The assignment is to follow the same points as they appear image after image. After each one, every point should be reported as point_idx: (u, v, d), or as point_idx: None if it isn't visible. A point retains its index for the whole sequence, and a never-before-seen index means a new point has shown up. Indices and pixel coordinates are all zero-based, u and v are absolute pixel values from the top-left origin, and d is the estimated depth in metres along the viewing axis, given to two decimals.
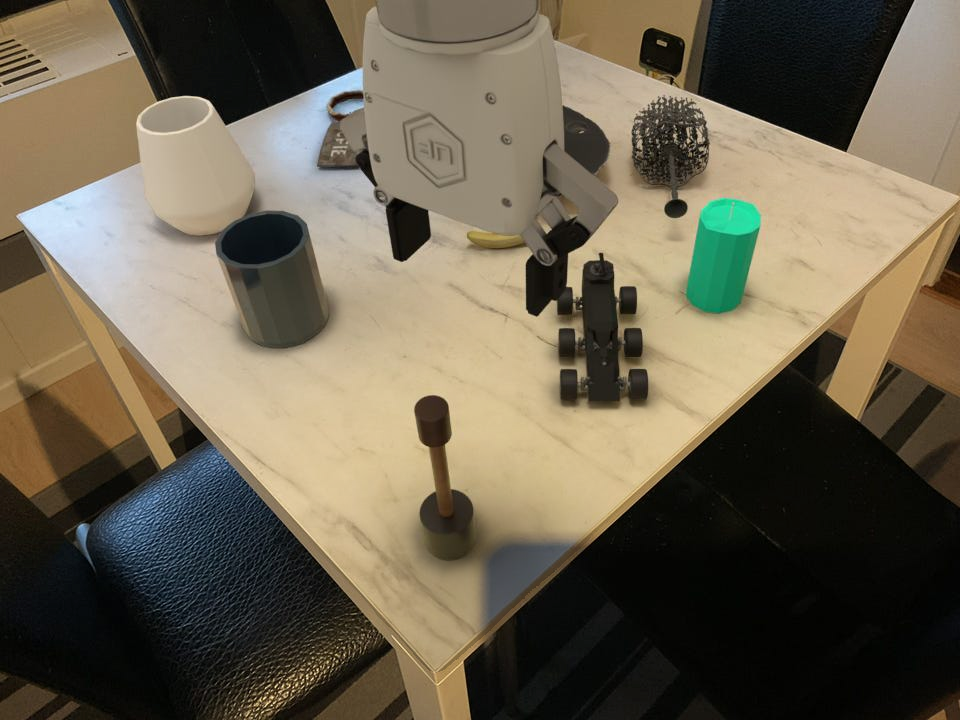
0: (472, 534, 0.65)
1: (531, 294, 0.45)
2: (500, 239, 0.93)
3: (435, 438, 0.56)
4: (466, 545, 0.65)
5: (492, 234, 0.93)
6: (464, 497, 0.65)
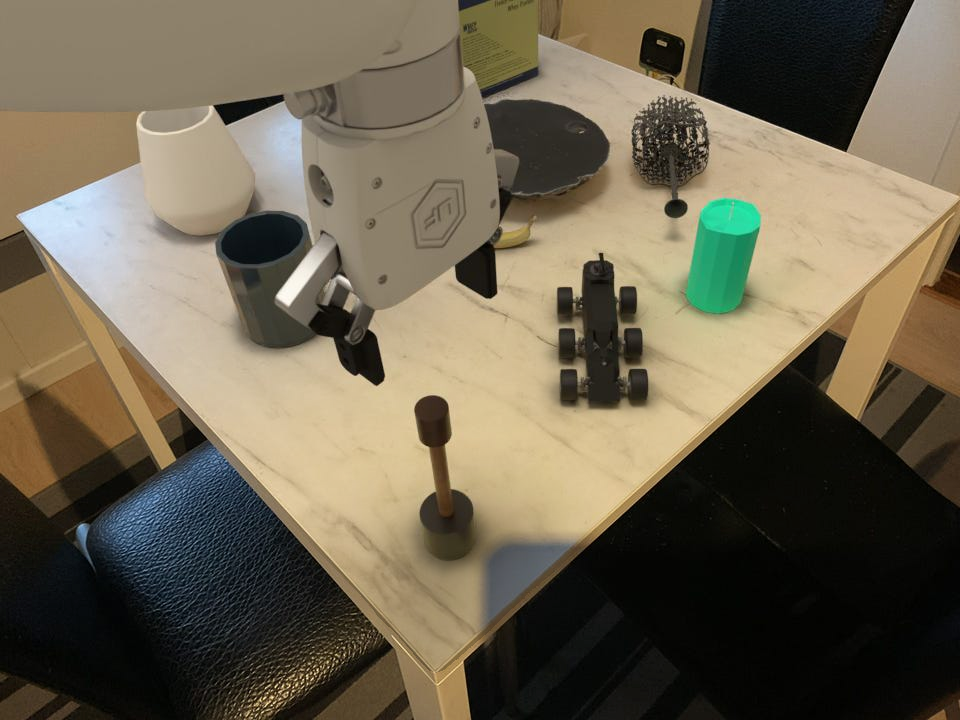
0: (472, 534, 0.65)
1: (493, 277, 0.50)
2: (500, 239, 0.93)
3: (435, 438, 0.56)
4: (466, 545, 0.65)
5: None
6: (464, 497, 0.65)
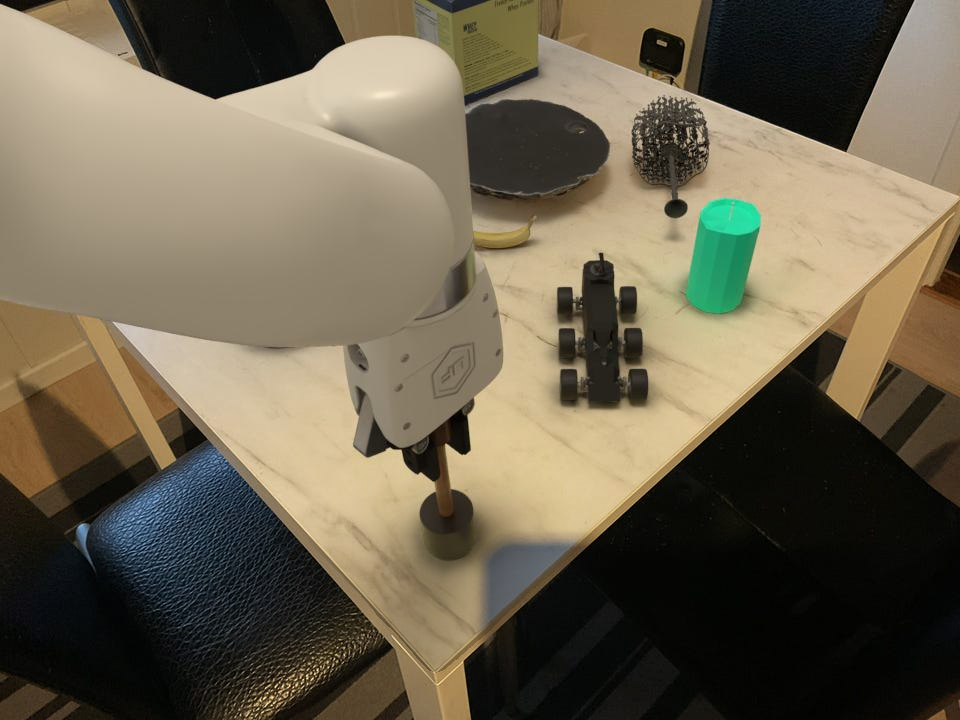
0: (472, 534, 0.65)
1: (467, 439, 0.58)
2: (500, 239, 0.93)
3: (435, 438, 0.56)
4: (466, 546, 0.65)
5: (492, 234, 0.93)
6: (464, 497, 0.65)
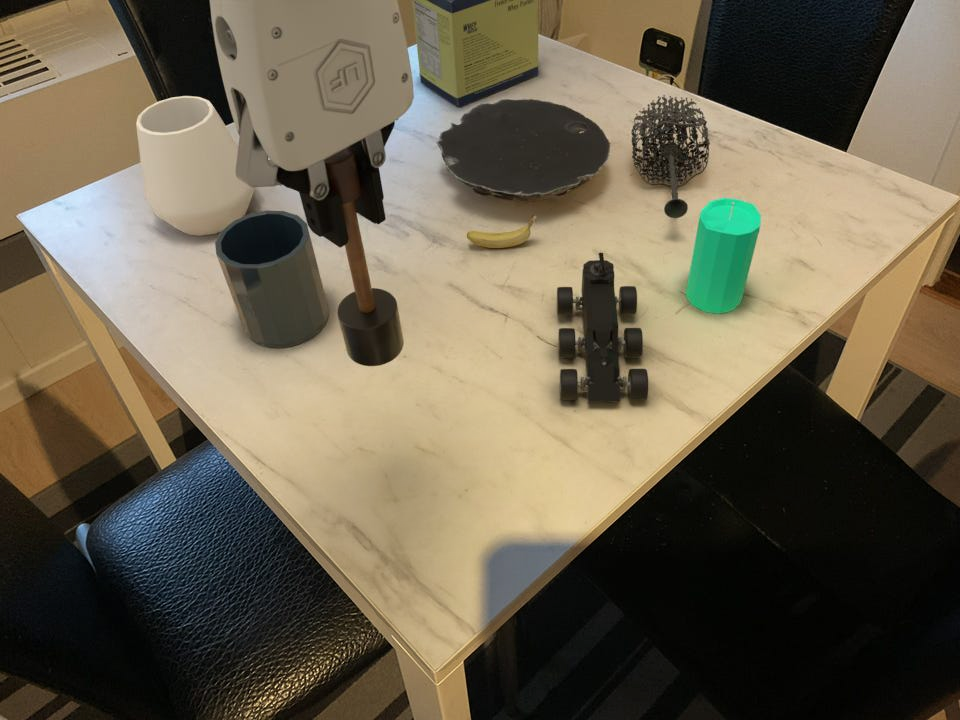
0: (396, 336, 0.59)
1: (379, 201, 0.52)
2: (500, 239, 0.93)
3: (339, 190, 0.49)
4: (390, 349, 0.59)
5: (492, 234, 0.93)
6: (388, 295, 0.59)
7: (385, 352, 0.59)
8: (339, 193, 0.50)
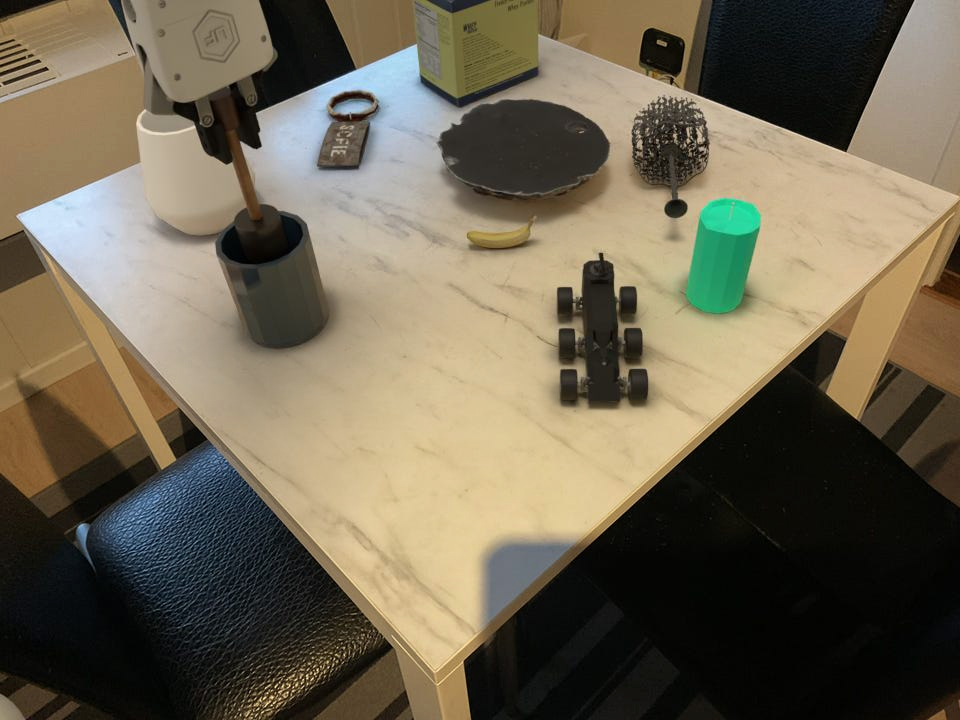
0: (280, 239, 0.79)
1: (255, 131, 0.71)
2: (500, 239, 0.93)
3: (223, 121, 0.69)
4: (275, 249, 0.78)
5: (492, 234, 0.93)
6: (273, 208, 0.78)
7: (271, 251, 0.78)
8: (223, 123, 0.69)
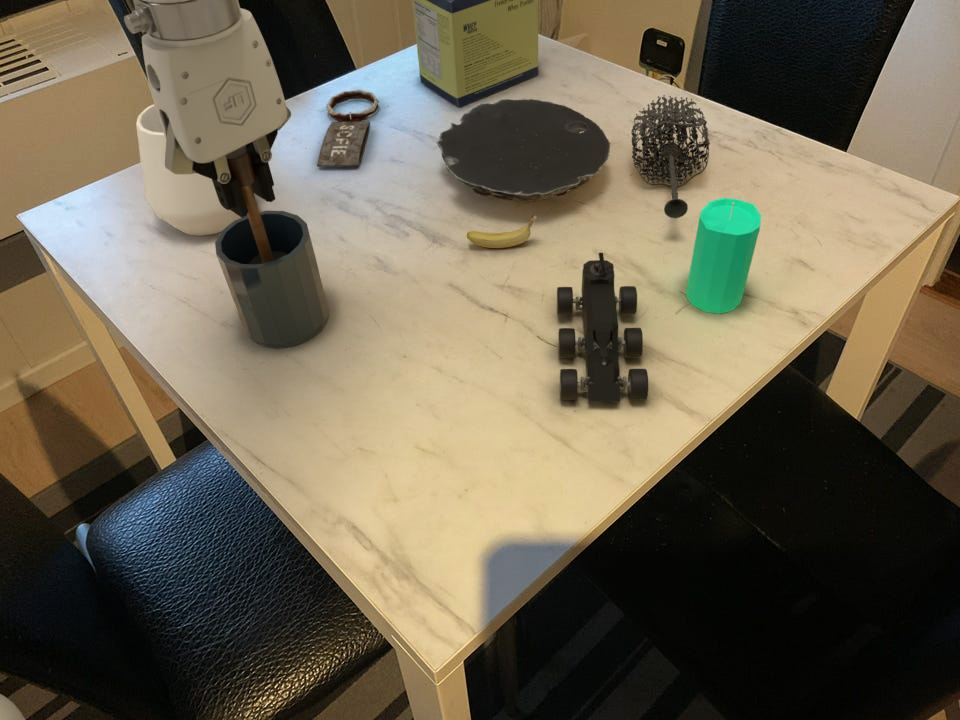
0: None
1: (269, 186, 0.75)
2: (500, 239, 0.93)
3: (239, 177, 0.73)
4: None
5: (492, 234, 0.93)
6: None
7: None
8: (239, 179, 0.73)
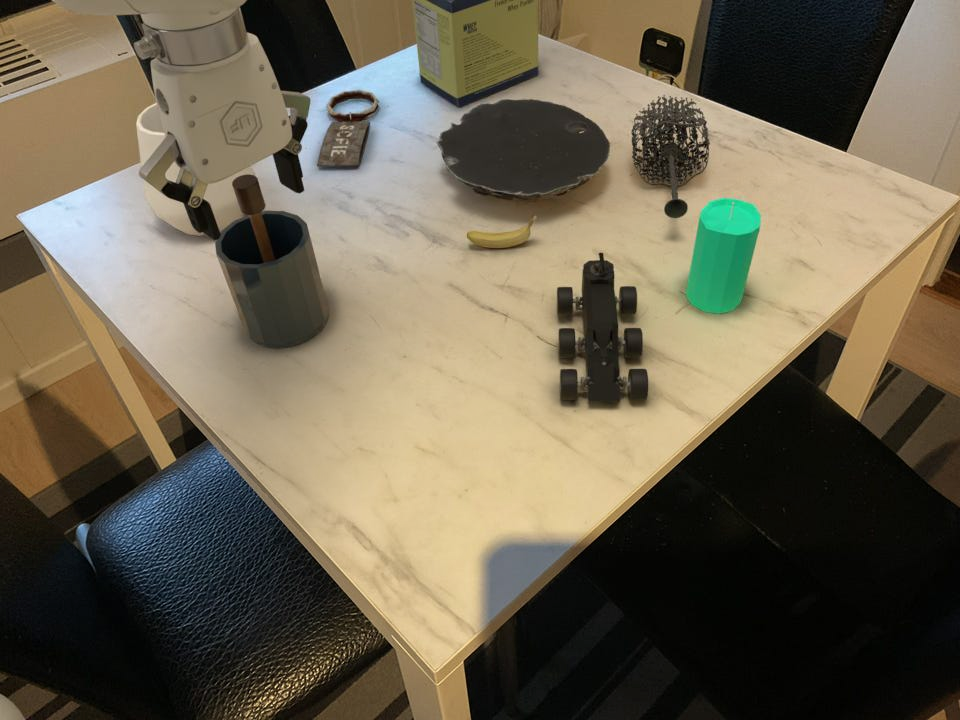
0: None
1: (299, 177, 0.77)
2: (500, 239, 0.93)
3: (249, 205, 0.75)
4: None
5: (492, 234, 0.93)
6: None
7: None
8: (249, 207, 0.75)
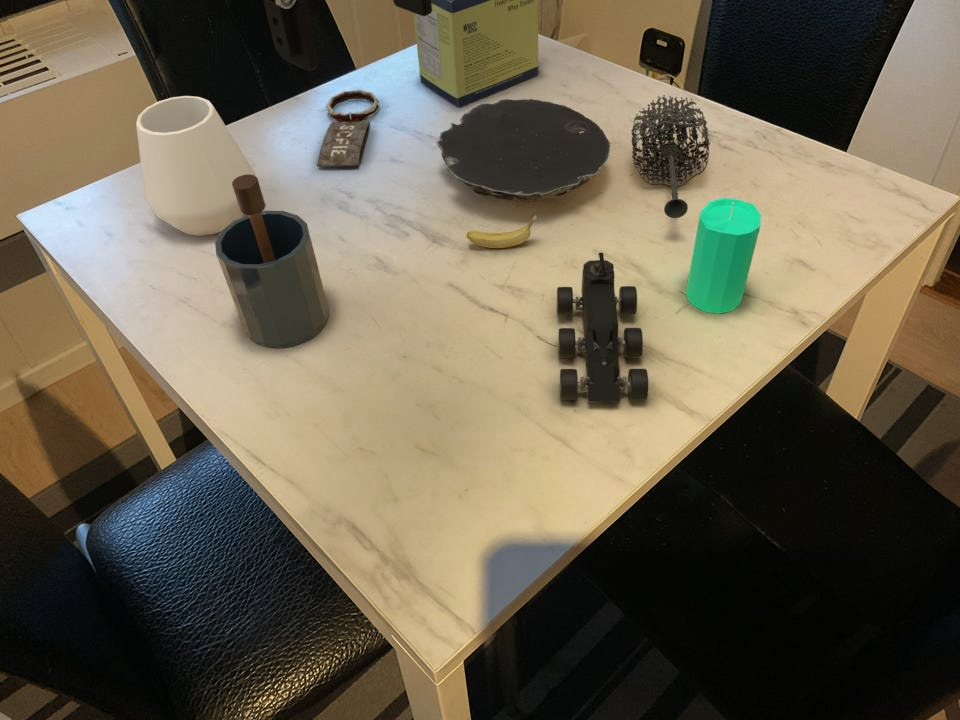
0: None
1: None
2: (500, 239, 0.93)
3: (249, 205, 0.75)
4: None
5: (492, 234, 0.93)
6: None
7: None
8: (249, 207, 0.75)
